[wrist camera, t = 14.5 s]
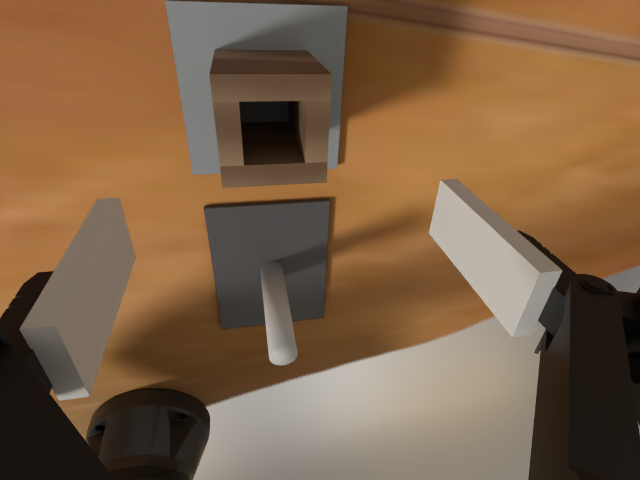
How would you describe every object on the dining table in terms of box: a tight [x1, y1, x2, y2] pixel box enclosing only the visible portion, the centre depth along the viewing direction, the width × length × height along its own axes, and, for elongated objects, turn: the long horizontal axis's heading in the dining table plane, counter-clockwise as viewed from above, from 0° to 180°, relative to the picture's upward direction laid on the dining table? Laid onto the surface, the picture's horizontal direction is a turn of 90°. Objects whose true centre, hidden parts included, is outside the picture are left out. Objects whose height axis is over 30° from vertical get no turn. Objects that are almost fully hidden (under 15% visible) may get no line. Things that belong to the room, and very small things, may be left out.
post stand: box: [204, 199, 330, 365], centre depth 37 cm, size 16×12×12 cm
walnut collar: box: [209, 49, 332, 188], centre depth 28 cm, size 7×7×9 cm
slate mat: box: [165, 0, 348, 175], centre depth 32 cm, size 13×13×1 cm
